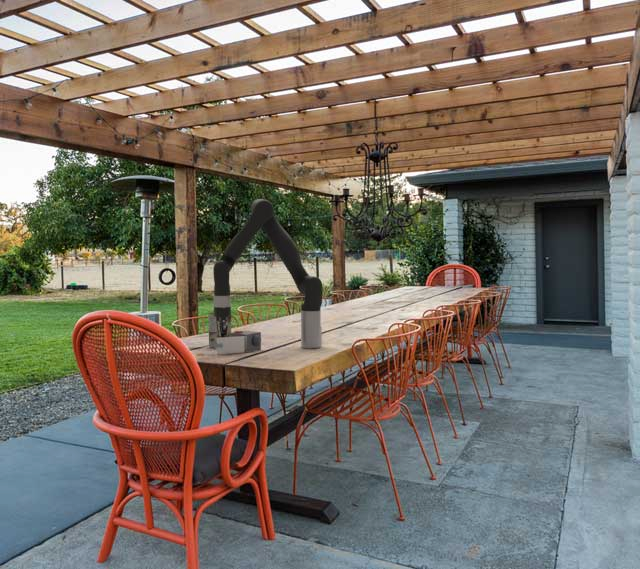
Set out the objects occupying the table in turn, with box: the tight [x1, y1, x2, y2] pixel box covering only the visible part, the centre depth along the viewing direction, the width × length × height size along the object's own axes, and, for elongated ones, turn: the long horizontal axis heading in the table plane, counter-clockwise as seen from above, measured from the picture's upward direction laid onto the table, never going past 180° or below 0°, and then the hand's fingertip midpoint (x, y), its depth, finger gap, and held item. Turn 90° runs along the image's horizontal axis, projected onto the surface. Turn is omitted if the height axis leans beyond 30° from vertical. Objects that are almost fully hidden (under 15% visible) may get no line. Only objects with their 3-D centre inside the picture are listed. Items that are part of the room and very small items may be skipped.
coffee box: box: [208, 312, 232, 349], centre depth 266 cm, size 9×6×16 cm
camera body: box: [230, 330, 262, 353], centre depth 256 cm, size 10×11×9 cm
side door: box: [216, 336, 248, 355], centre depth 247 cm, size 2×13×7 cm, turn 107°
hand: (222, 344), depth 249 cm, fingers closed
